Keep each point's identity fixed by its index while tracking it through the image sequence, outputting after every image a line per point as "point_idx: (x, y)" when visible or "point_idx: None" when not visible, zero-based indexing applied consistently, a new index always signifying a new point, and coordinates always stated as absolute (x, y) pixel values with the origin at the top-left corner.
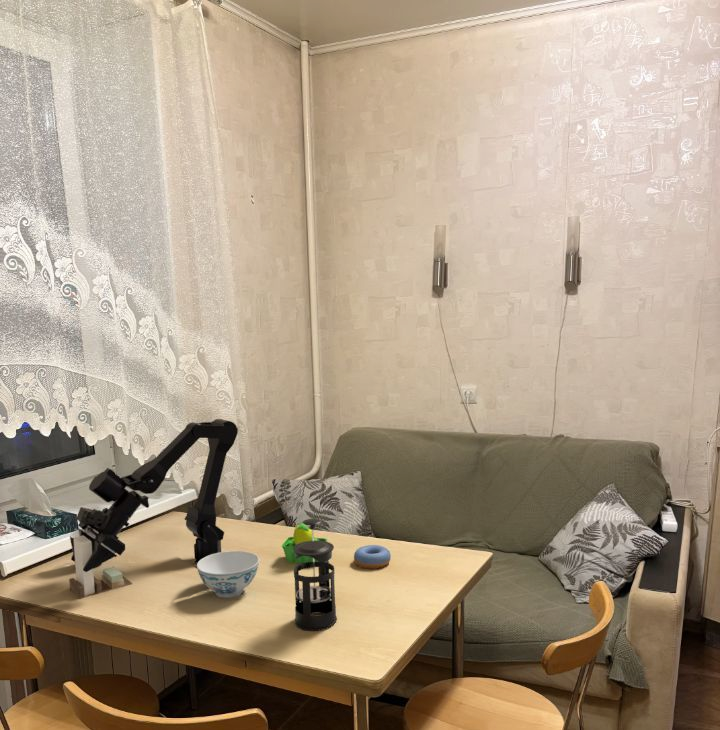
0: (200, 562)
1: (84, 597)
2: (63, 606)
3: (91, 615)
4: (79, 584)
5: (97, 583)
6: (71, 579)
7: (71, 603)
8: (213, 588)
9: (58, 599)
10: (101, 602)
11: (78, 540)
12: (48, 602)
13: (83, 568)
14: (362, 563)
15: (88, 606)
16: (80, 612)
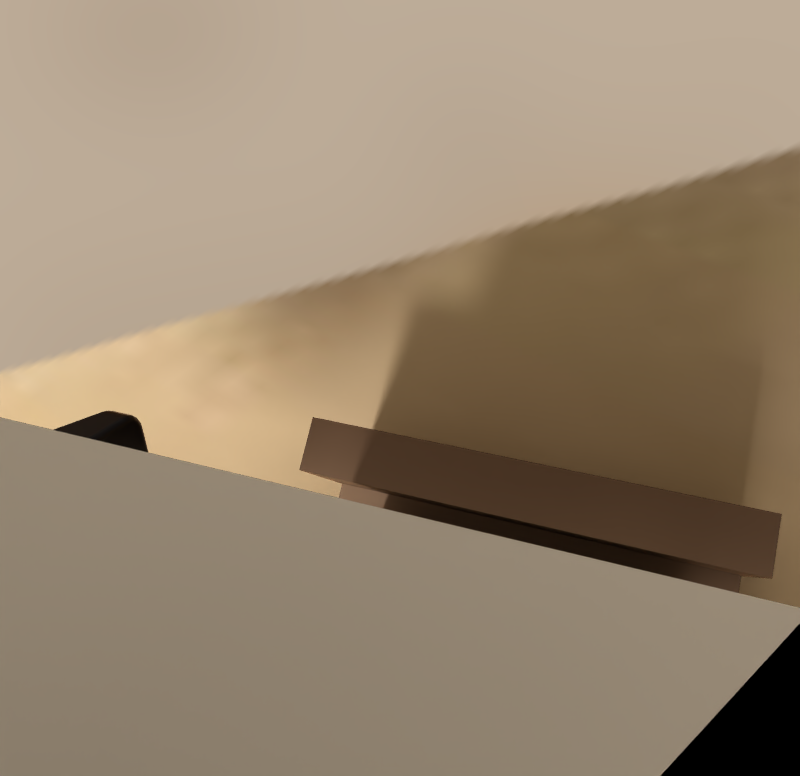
0: None
1: (343, 485)
2: (435, 300)
3: (60, 370)
4: (436, 489)
5: None
6: (727, 523)
7: (433, 383)
8: None
9: (654, 346)
10: None
11: (146, 532)
12: (666, 245)
13: (110, 419)
14: None
15: (229, 450)
16: (185, 340)
